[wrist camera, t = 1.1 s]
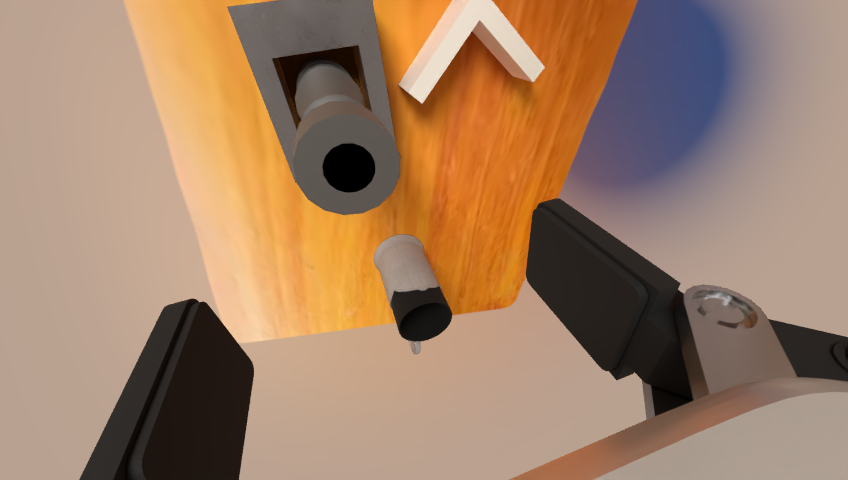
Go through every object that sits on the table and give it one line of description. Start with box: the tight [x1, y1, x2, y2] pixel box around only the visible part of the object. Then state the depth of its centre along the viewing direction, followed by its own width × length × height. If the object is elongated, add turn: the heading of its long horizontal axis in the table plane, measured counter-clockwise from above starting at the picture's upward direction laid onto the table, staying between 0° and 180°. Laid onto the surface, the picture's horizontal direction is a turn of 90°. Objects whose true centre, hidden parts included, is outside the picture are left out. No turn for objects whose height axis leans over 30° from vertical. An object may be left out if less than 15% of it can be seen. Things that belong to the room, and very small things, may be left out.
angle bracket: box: [398, 0, 545, 103], centre depth 36 cm, size 10×17×5 cm, turn 97°
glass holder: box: [374, 234, 452, 354], centre depth 49 cm, size 9×14×15 cm, turn 175°
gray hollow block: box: [227, 0, 396, 182], centre depth 34 cm, size 16×12×6 cm
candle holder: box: [293, 56, 400, 215], centre depth 27 cm, size 6×6×25 cm
